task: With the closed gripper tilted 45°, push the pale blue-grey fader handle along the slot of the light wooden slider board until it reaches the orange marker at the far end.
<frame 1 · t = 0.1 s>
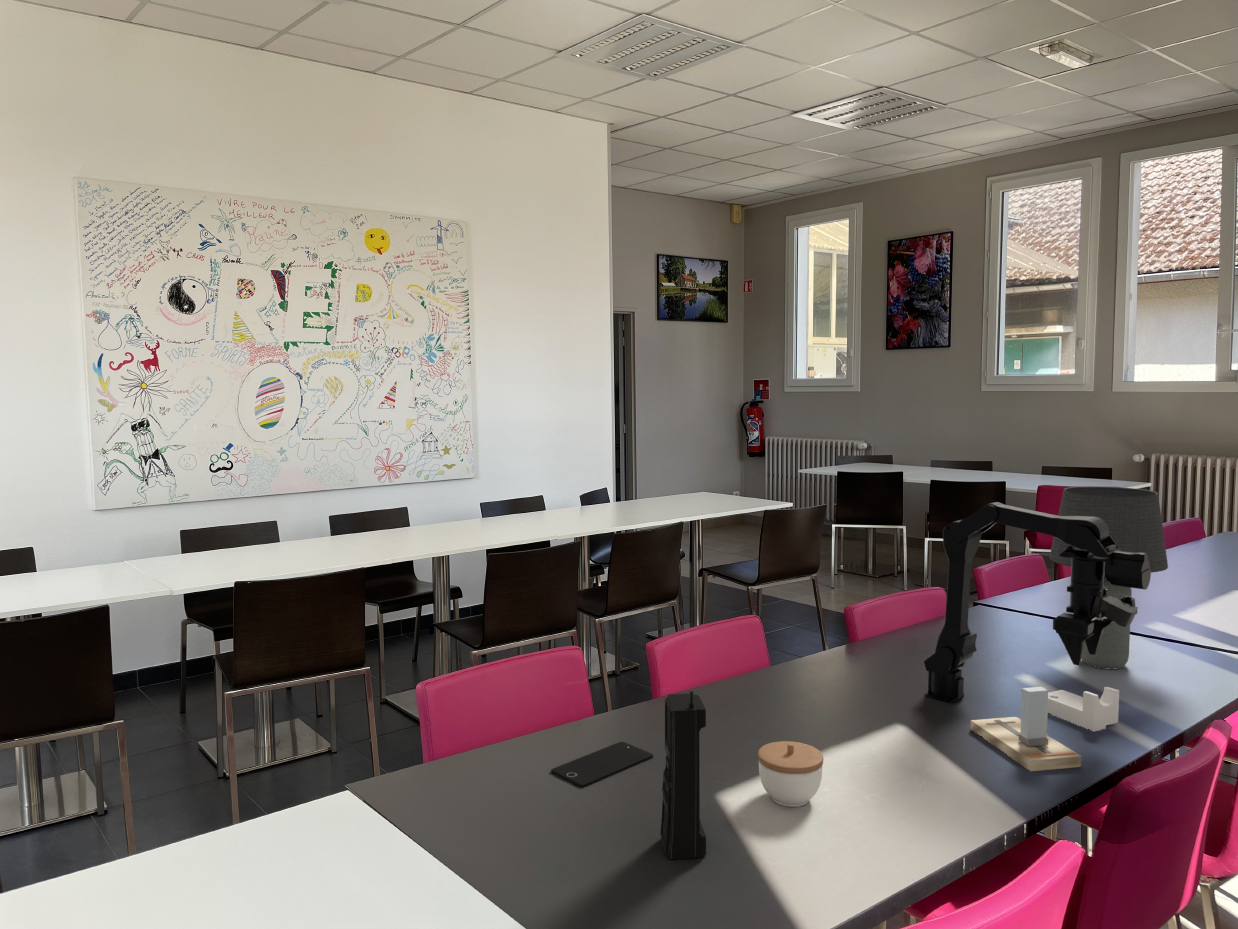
hand: (1084, 659, 170), 15 cm above the table, tool pointing down, fingers open, 9 cm apart
cell phone: (603, 767, 158), on the table
bracket: (1076, 719, 178), on the table
lamp: (1102, 664, 212), on the table
fader tab: (1034, 715, 160), point 7 cm above the table, slide at 3.0 cm
lidded jar: (790, 799, 144), on the table
portable radio: (682, 846, 130), on the table
slider board: (1022, 747, 164), on the table
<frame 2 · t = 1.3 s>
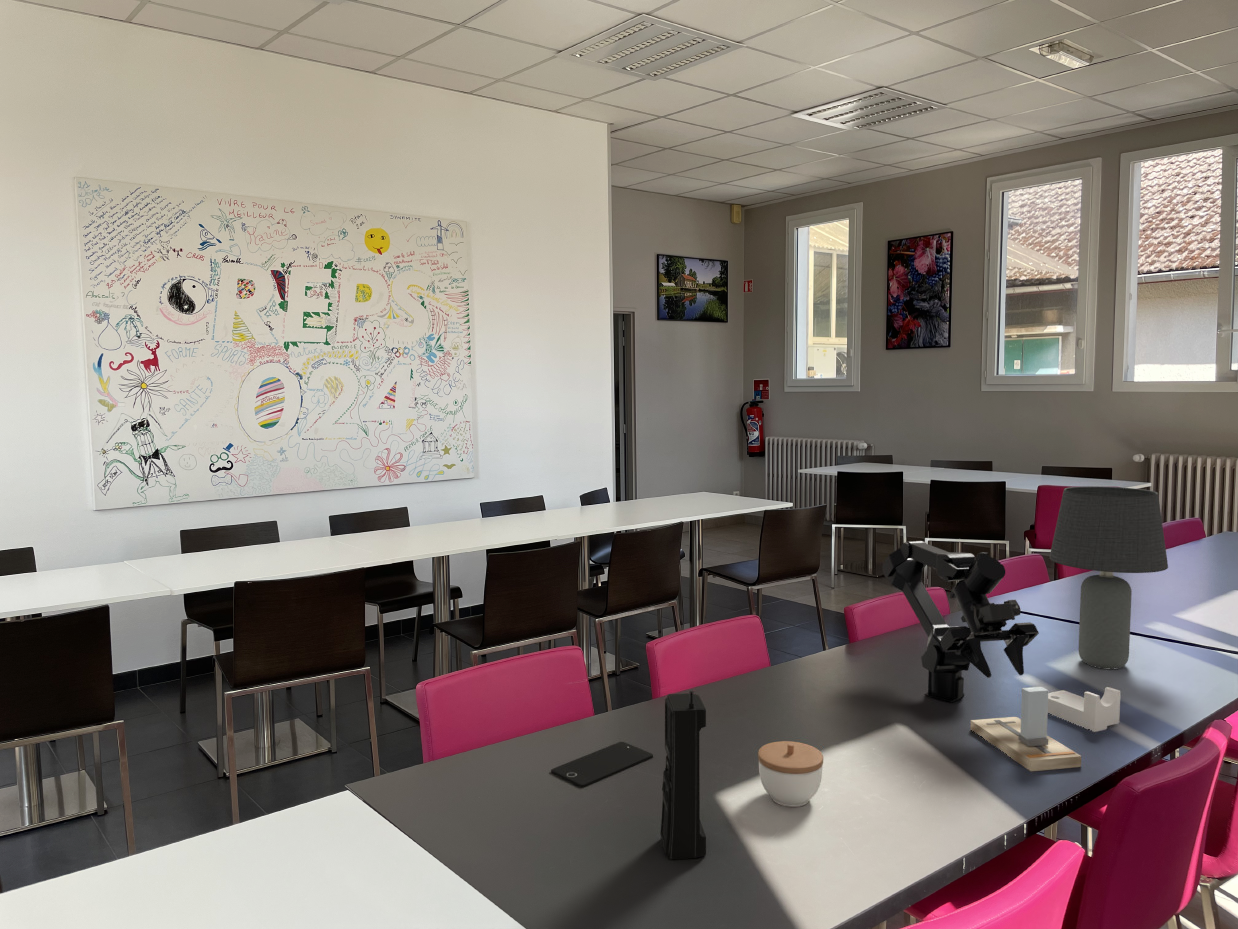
hand: (1005, 675, 168), 12 cm above the table, tool tilted 45°, fingers open, 7 cm apart
nothing on the table moved.
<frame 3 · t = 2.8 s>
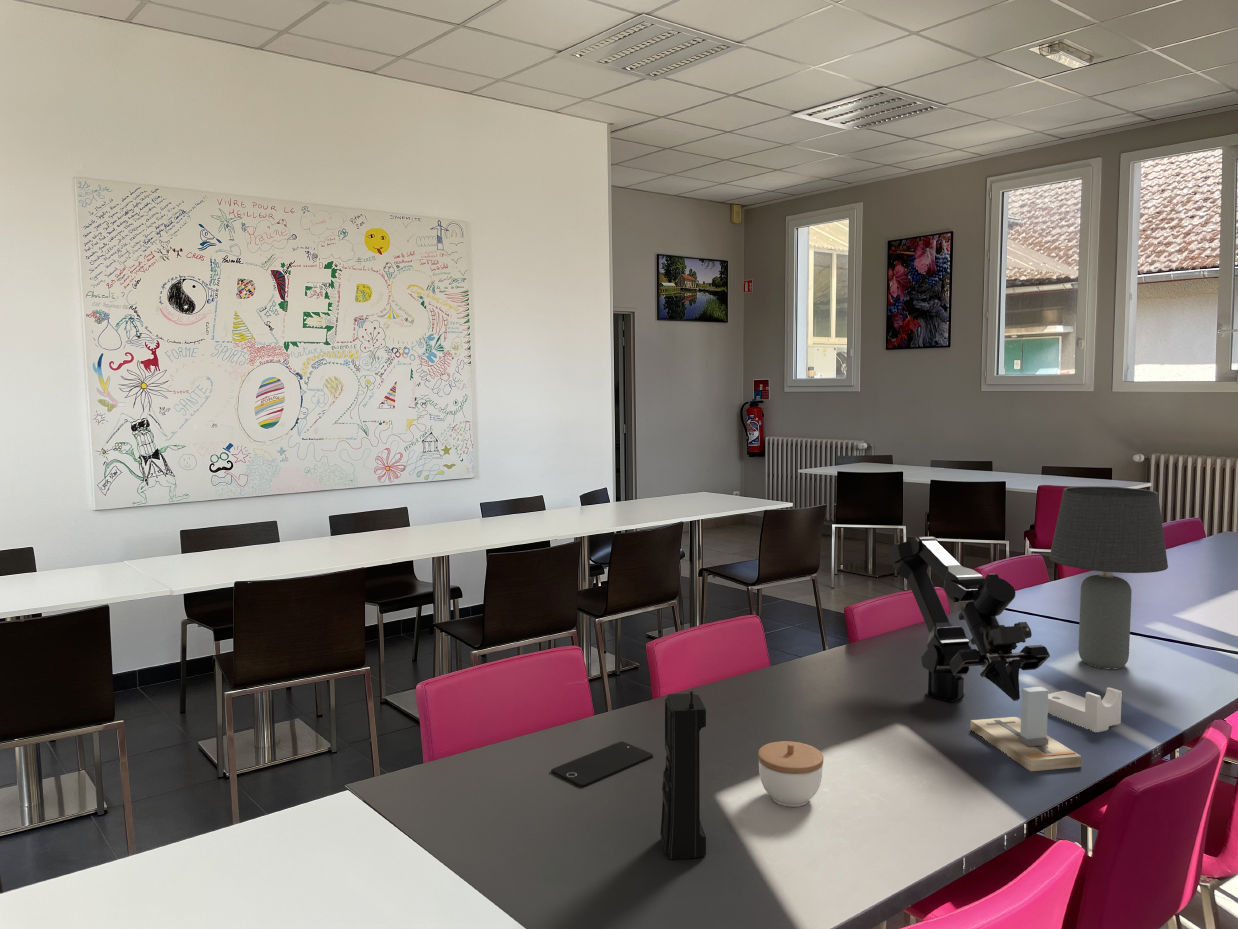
hand: (1017, 699, 165), 8 cm above the table, tool tilted 45°, fingers closed
nothing on the table moved.
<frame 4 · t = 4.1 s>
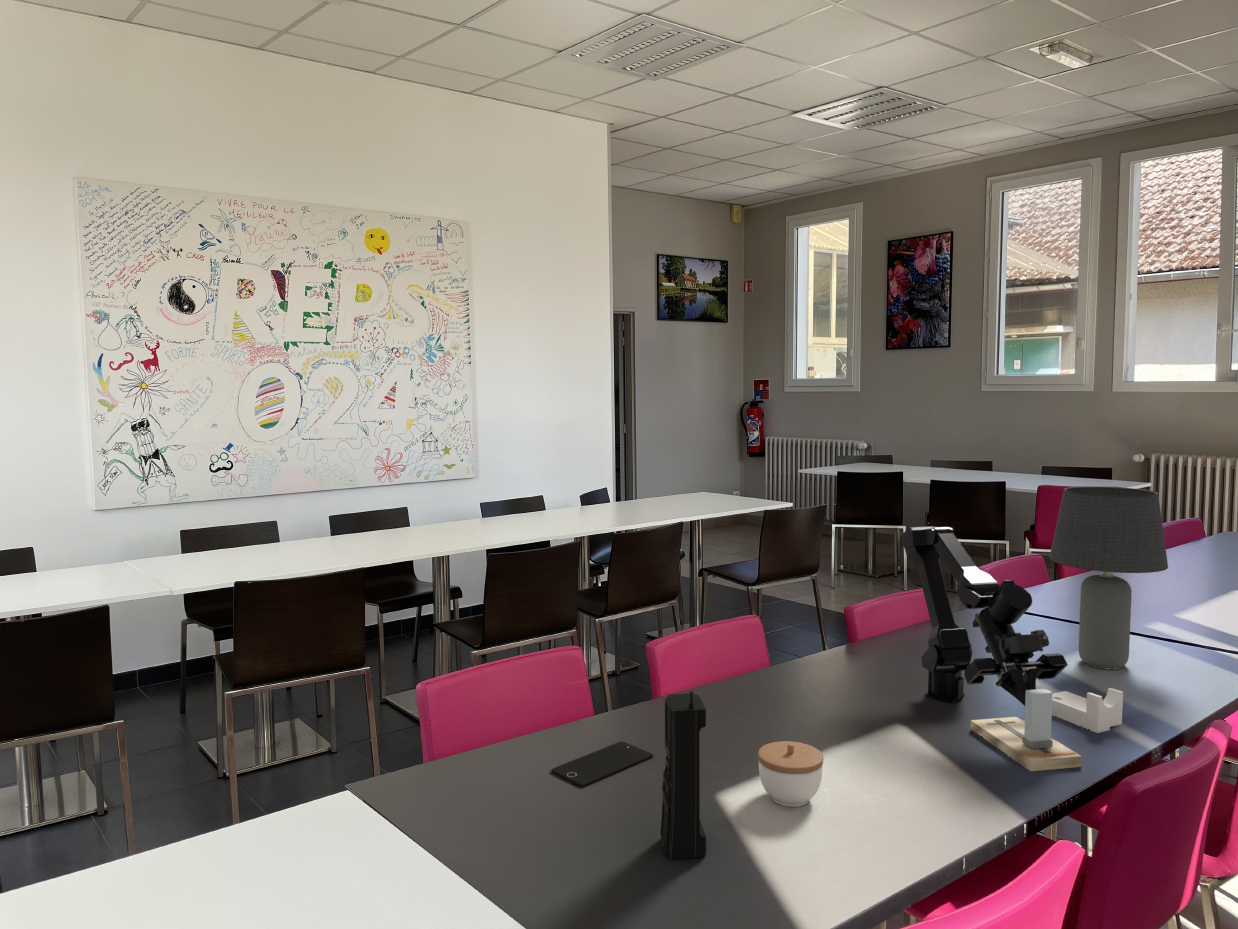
hand: (1034, 710, 160), 8 cm above the table, tool tilted 45°, fingers closed, pressing on fader tab
fader tab: (1038, 718, 159), point 7 cm above the table, slide at 4.2 cm, touching gripper
everything else where it was.
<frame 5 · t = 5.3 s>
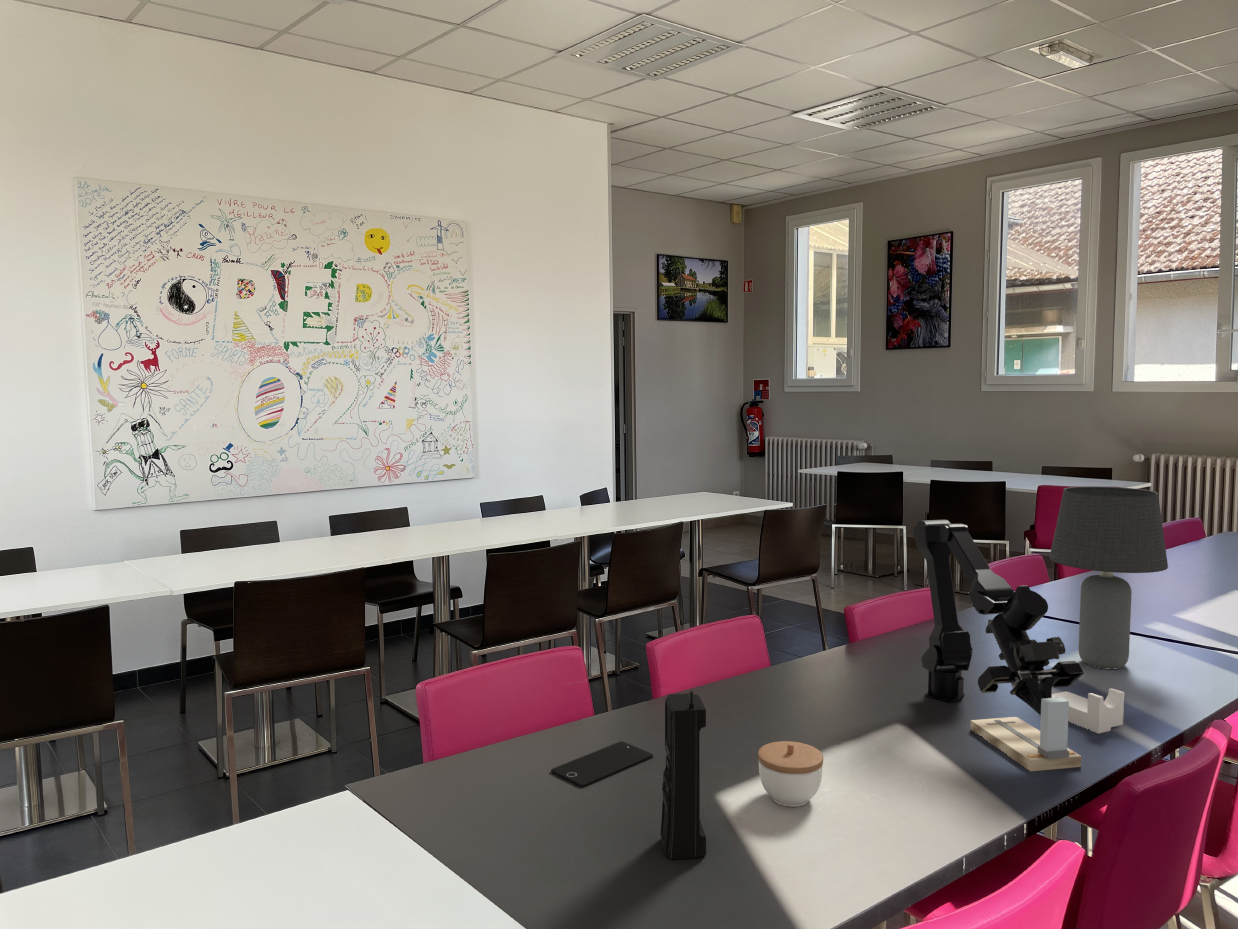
hand: (1050, 720, 156), 8 cm above the table, tool tilted 45°, fingers closed, pressing on fader tab
fader tab: (1054, 727, 154), point 7 cm above the table, slide at 8.6 cm, touching gripper
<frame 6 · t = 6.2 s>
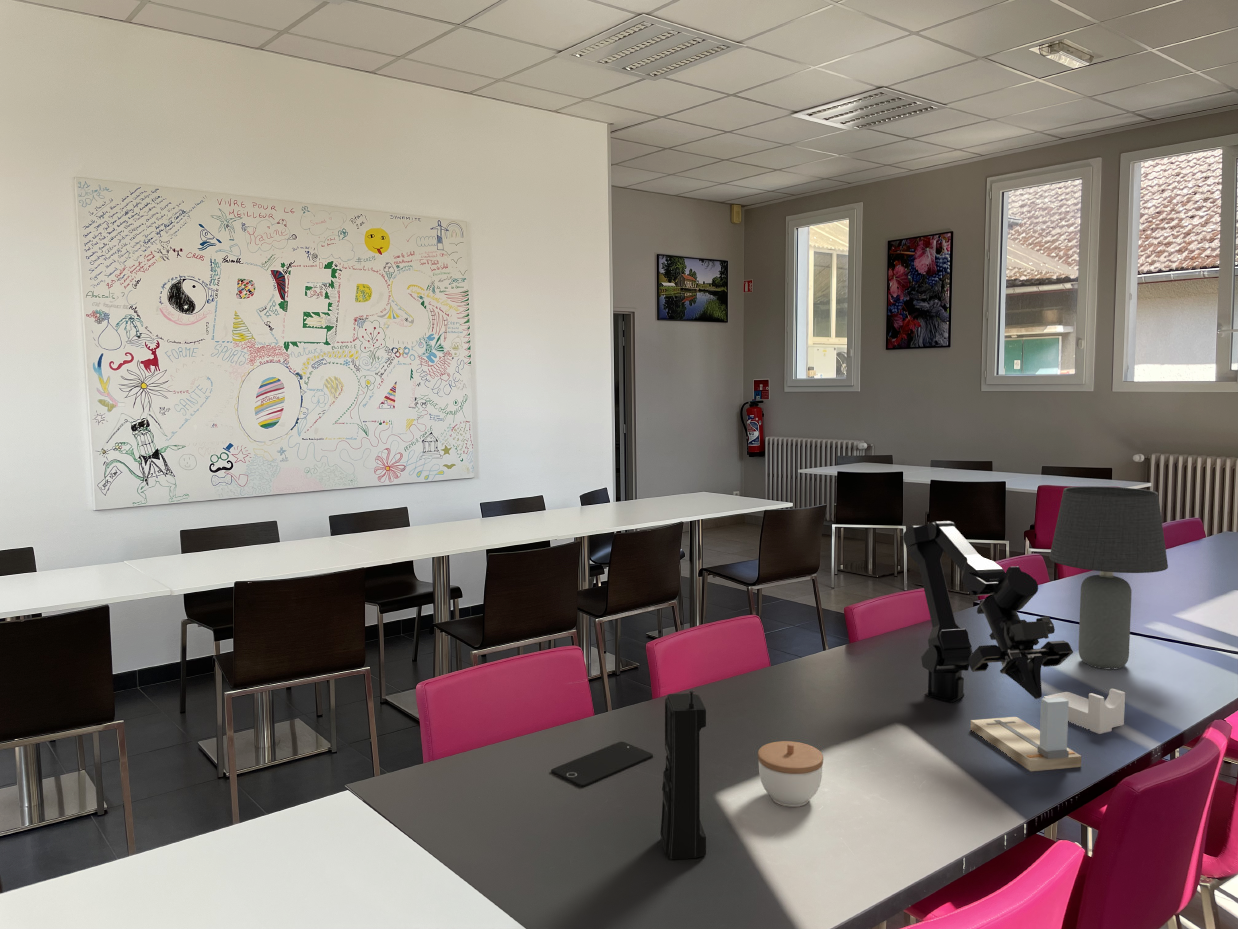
hand: (1038, 698, 159), 11 cm above the table, tool tilted 45°, fingers closed
fader tab: (1053, 727, 155), point 7 cm above the table, slide at 8.5 cm
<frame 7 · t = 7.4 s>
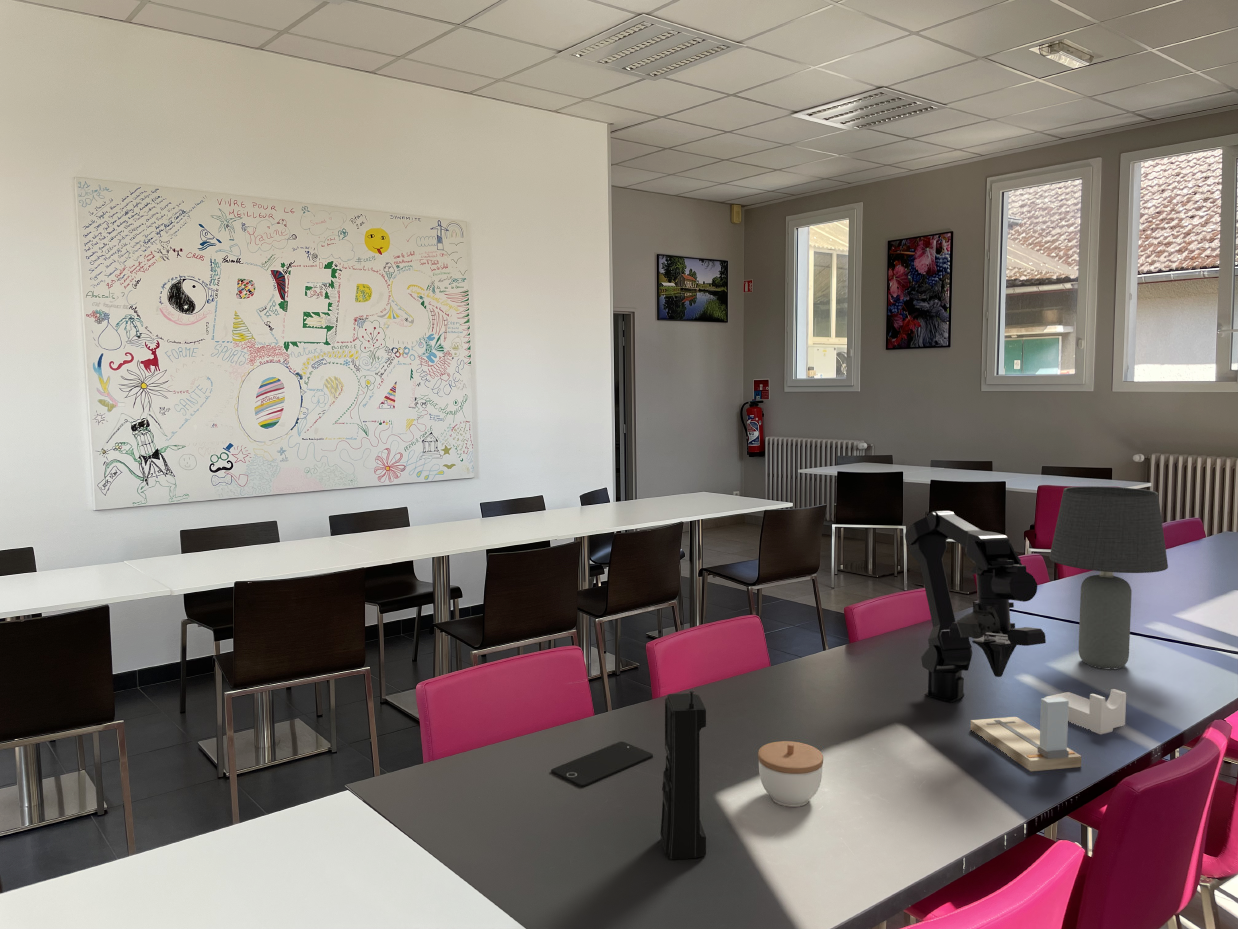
hand: (998, 676, 171), 11 cm above the table, tool pointing down, fingers closed
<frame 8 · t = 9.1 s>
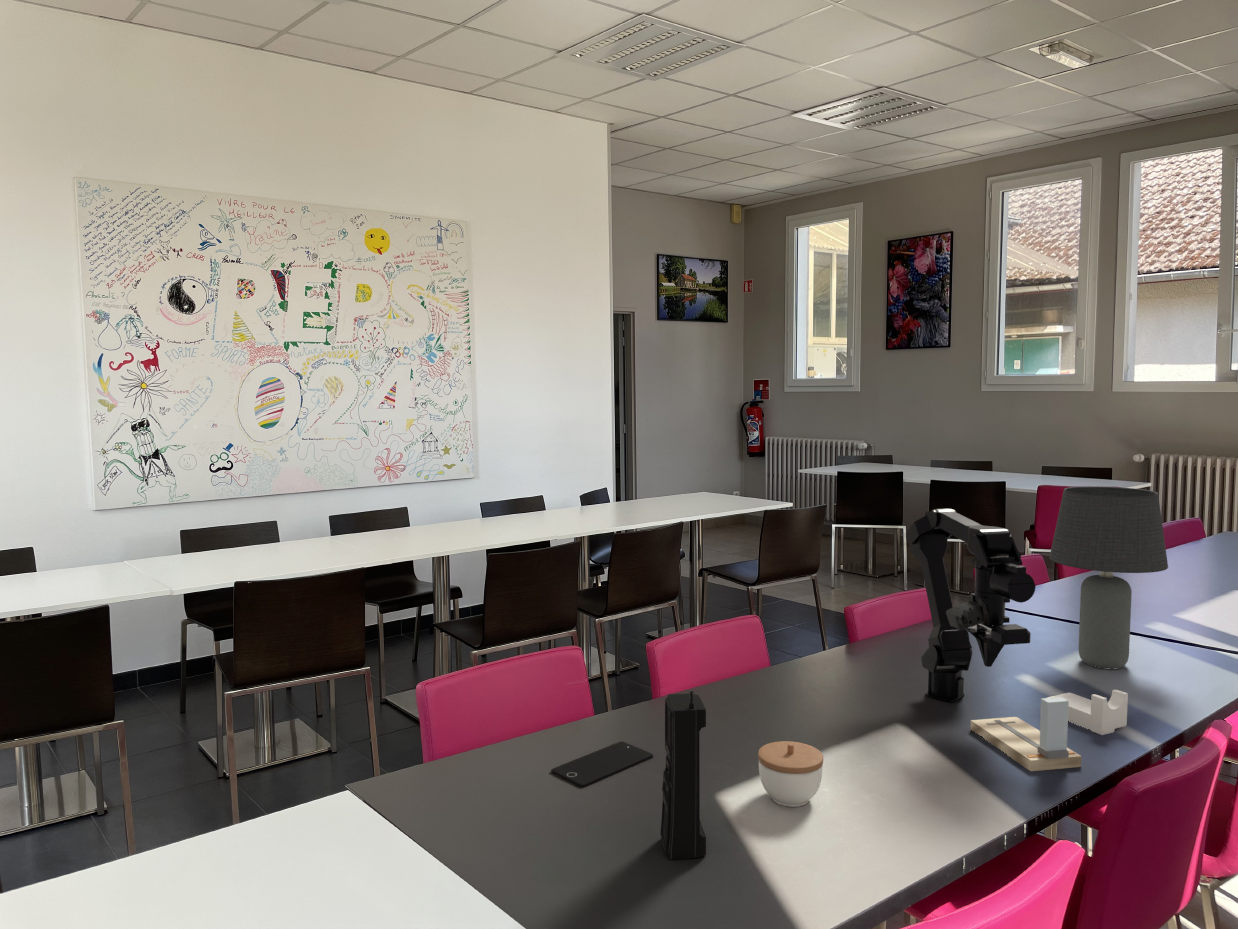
hand: (987, 666, 174), 12 cm above the table, tool pointing down, fingers closed
at the end: fader tab slide at 8.5 cm; bracket moved 2.0 cm from its start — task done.
